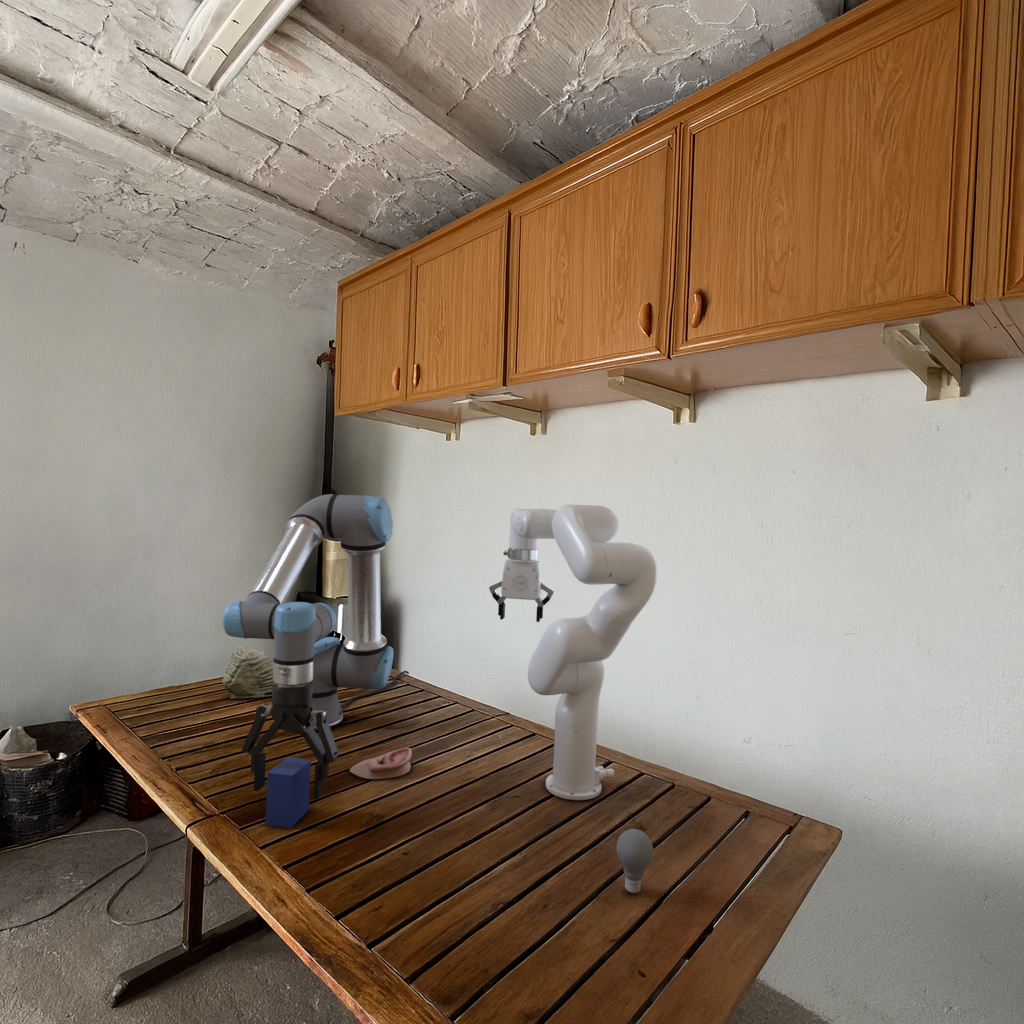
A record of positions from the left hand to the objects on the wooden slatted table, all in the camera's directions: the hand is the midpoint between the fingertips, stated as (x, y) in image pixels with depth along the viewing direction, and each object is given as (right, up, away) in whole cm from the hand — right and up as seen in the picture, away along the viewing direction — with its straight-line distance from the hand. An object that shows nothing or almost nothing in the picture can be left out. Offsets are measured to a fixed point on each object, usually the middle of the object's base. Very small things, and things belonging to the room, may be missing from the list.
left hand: (288, 791), depth 125 cm
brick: (0, -5, 0) cm, 5 cm away
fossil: (-37, -2, +73) cm, 82 cm away
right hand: (+46, +26, +43) cm, 69 cm away
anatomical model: (+13, -5, +23) cm, 27 cm away
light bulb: (+64, -8, -19) cm, 67 cm away
